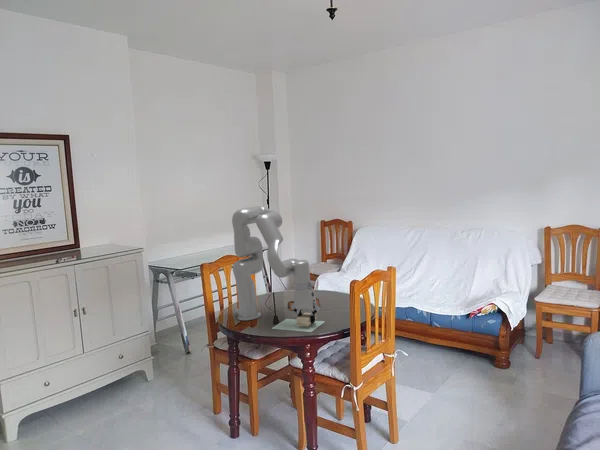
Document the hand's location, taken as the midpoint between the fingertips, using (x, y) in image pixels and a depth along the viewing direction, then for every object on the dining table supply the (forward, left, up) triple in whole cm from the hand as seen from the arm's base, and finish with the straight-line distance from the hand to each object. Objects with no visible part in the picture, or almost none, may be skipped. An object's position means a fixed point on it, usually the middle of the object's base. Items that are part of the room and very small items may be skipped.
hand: (306, 322), depth 223 cm
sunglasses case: (-16, +28, -3) cm, 33 cm away
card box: (0, 0, 0) cm, 0 cm away
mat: (-5, 0, -2) cm, 5 cm away
